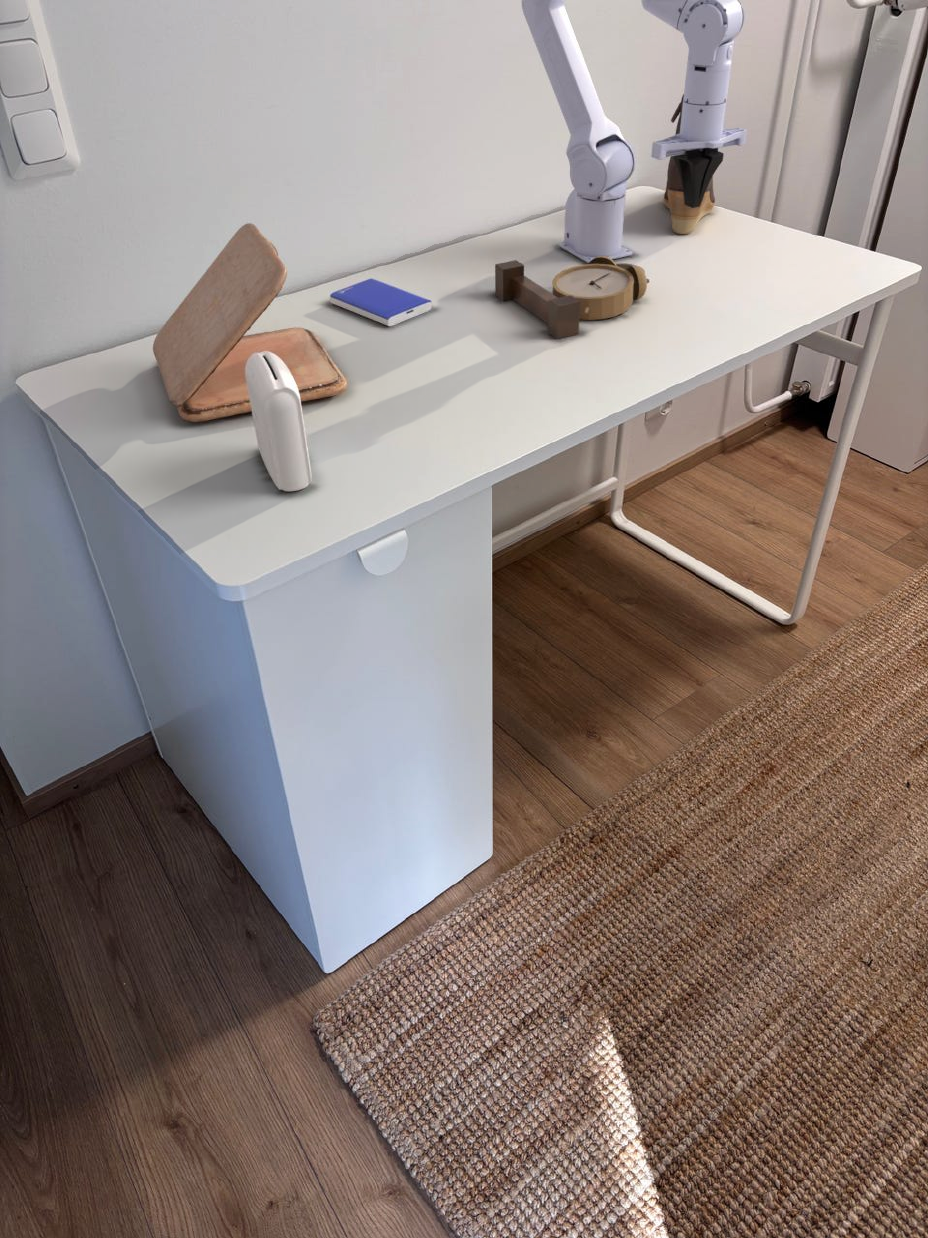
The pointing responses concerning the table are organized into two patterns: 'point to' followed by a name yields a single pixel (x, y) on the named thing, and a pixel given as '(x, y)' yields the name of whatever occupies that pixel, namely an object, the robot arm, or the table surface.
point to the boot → (674, 197)
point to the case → (236, 335)
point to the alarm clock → (601, 287)
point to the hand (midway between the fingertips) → (692, 205)
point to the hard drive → (380, 302)
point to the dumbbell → (537, 299)
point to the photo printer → (278, 421)
